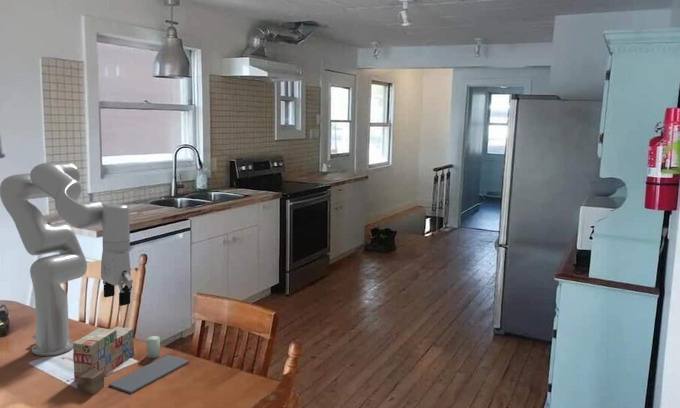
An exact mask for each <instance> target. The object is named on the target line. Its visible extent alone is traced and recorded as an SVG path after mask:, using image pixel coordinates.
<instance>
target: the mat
mask: <svg viewBox="0 0 680 408" xmlns="http://www.w3.org/2000/svg"><path fill="white" fill-rule="evenodd" d="M189 363H190V360H188V359H185V358H183V357H182V358H181V357H178V356H174V355H172V354H171V355H170V354H167V355H165V356H162V357H161V358H159V359H157V360H154V361H152V362H149V364H147V365H145V366H142V367H140V368H138V369H136V370H134V371H132V372H131V373H129V374H126V375H124V376H122V377H120V378H118V379H116V380H115V381H112V382H110V383H108V387H110V388H114V389H116V390H119V391H123V392H124V393H128V394H134V393H135V392H137V391H139V390H141V389H143V388H145V387H146V386H148V385H150V384H152V383H153V382H156V381H157V380H159V379H161V378H163V377H164V376H167V375H168V374H170V373H173V372H174V371H176V370H178V369H180V368H182V367H183V366H185V365H187V364H189Z"/></svg>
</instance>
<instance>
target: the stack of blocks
mask: <svg viewBox="0 0 680 408" xmlns="http://www.w3.org/2000/svg"><path fill="white" fill-rule="evenodd" d="M134 345H135V340H134V328H130V327H122V326H121V327H120V326H115V327H114V328H112V329H111V328H101V327H97V328H96V329H94V330H93V331H91V332H90V333H87V334H86V335H85V336H83V337H80V338H79V339H78V340H76V341H74V343H73V348H72V350H73V351H72V352H73V353H72V359H73V372H74V373H73V381H74V382H77V376H78V375H80V374H82V373H83V372H85V371H86V370H88V369H93V370H100V371H104V377H105V376H106V375H108V374H109V373H111V372H112V371H114V370H115V369H116V368H117V367H118V366H120V365H122V364H123V363H124V362H125V361H127V360H128V359H130V358H131V357H133V356H134V355H135V346H134Z"/></svg>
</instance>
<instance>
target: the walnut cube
mask: <svg viewBox="0 0 680 408" xmlns="http://www.w3.org/2000/svg"><path fill="white" fill-rule="evenodd" d="M76 384H77V393H78V394H83V395H84V394H85V395H91V396H94V395H95V394H97V393H98V392H99V391H101V390H102V389H104V387H105V376H104V371H100V370H93V369H88V370H86V371H85V372H83V373H82V374H80V375H78V376H77V381H76Z"/></svg>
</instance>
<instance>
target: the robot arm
mask: <svg viewBox="0 0 680 408" xmlns="http://www.w3.org/2000/svg"><path fill="white" fill-rule="evenodd" d="M80 178H81V175H80V171H79V169H78V167H77V166H76V165H75V164H73V163H71V162H67V161H59V162H57V161H56V162H44V163H40V164H37V165H35V166H34V167H33V168H31V171H30V173H18V174H13V175H9V176H7V177H5V178H4V179H3V180H2V181H1V182H0V200H1V203H2V205H3V207H4V208H5V210H6V211H7V213H8V214H9V216H10V217H11V219H12V221H13V222H14V225H15V228H16V230H17V232H18V234H19V238H20V240H21V242H22V245H23V247H24V249H25V251H26V252H27V253H28V254H29V255H31V256H41V255H47V256H44V257H41V258H38V259H37V260H35V261H33V263H32V264H31V266H30V269H29V274H30V275H29V276H30V279H31V283H32V286H33V292H34V306H35V307H34V308H35V328H36V329H35V331H36V333H35V334H32V336H31V338H32V339H33V340H35V344H33V346H32V347H31V352H32V354H34V355H37V356H43V357H46V356H47V357H48V356H50V357H51V356H56V355H61V354H65V353H66V352H69V351H71V350H73V343H74V342H75V341H74V340H73V339H72V338H70V332H69V327H70V326H69V325H70V324H69V306H68V305H69V304H68V295H67V292H66V291H65V290H64V288H62V286H61V284H63V283H66V282H70V281H74V280H78V279H80V278H83V277H84V275H86V273H87V271H88V263H87V260H86V257H85V254H84V252H83V250H82V247H81V245H80V242H79V240H78V238H77V235H76V232H75V231H74V230H73V229H72V227H74V228H76V229H88V228H93V227H101V226H102V228H101V229H102V251H101V252H102V253H101V260H100V261H101V263H100V264H101V265H100V279H101V280H102V284H103V297H104V298H110V297H114V296H115V295H116V294H115V293H116V291H115V287H117V286H118V288H119V291H120V292H119V293H118V301H119V303H118V305H119V306H121V307H122V306H126V305H130V304H131V291H132V288H133V282H134V281H133V279H132V277H131V276H132V275H131V260H130V259H131V258H130V252H129V251H130V250H131V248H130V247H131V240H130V239H131V237H130V231H131V227H130V226H131V223H130V222H131V221H130V219H131V218H130V217H131V216H130V207H129V206H128V205H127V204H124V203H116V202H114V201H112V200H108V199H107V200H106V199H105V200H104V199H103V200H94V201H84V202H77V200H79V199H78V198H80V196H81V193H82V185H81V183H80ZM44 198H52V199H54V200H55V201H54V204H55V209H56V212H57V214H58V216H59V218H61V219H62V220H64V221H65V222H66V223H68V224H66V223H62V222H61V223H58V222H57V223H52V224H48V223H47V222H46V220H45V218H44V215H43V213H42V211H41V210H40V209H39V208H38V207H37V206H36V205H34V204H33V203H31V202H30V201H29V200H32V199H33V200H34V199H44ZM52 253H57V254H53V255H48V254H52Z"/></svg>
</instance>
